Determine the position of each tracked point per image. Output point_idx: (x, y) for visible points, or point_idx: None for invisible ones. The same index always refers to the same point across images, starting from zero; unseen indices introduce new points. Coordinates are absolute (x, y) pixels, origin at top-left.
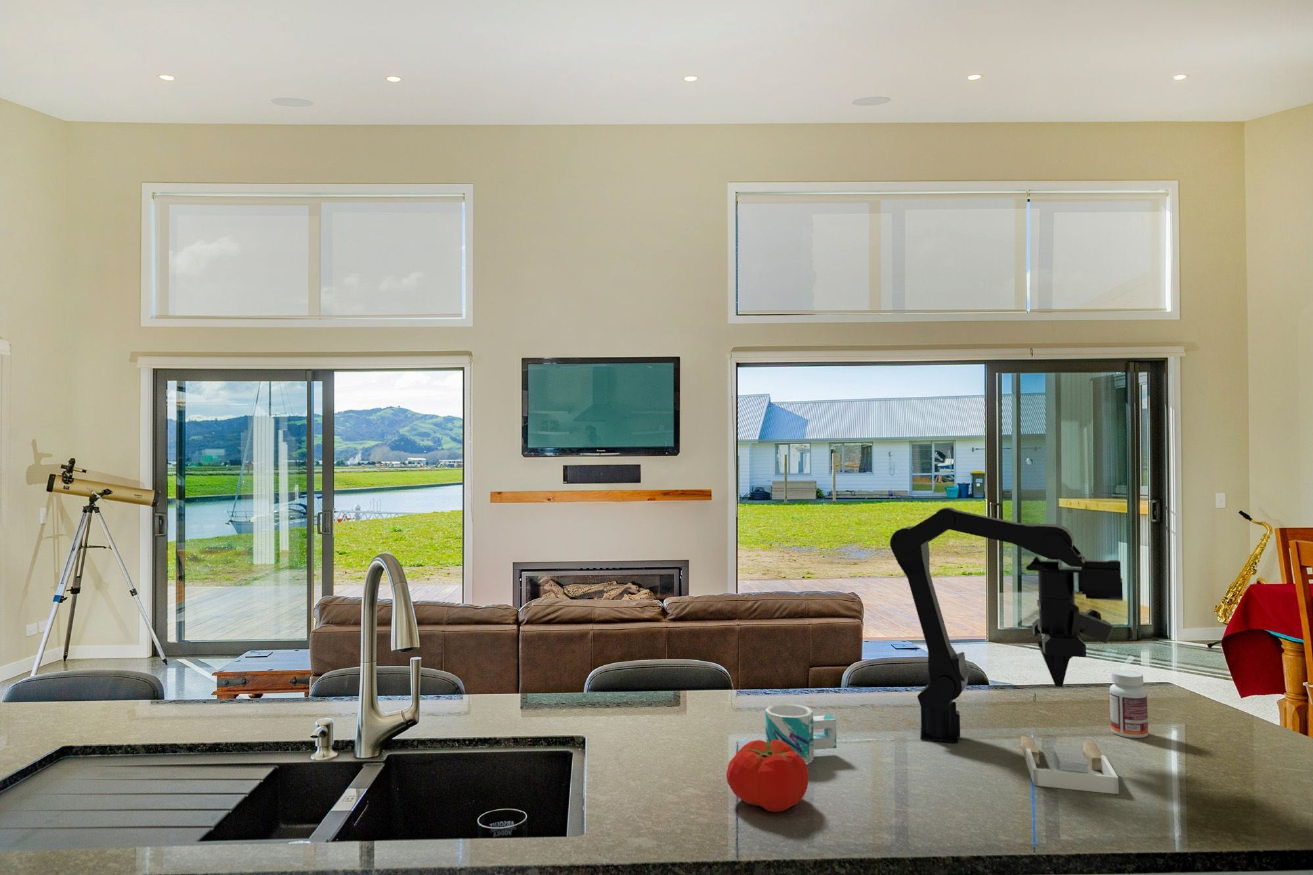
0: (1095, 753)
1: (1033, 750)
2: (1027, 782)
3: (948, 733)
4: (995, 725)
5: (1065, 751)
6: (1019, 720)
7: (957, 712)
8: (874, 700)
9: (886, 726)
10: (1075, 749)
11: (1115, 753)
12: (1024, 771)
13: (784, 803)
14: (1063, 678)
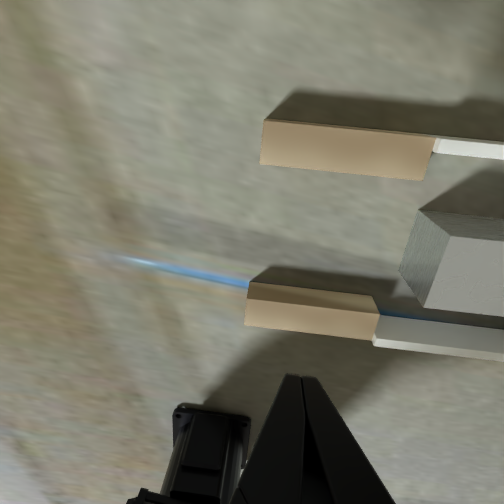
0: (382, 156)
1: (363, 323)
2: None
3: (236, 442)
4: (83, 325)
5: (492, 289)
6: (8, 262)
7: (201, 468)
8: (17, 487)
9: None
10: (474, 254)
11: (239, 40)
12: None
13: None
14: (347, 430)
